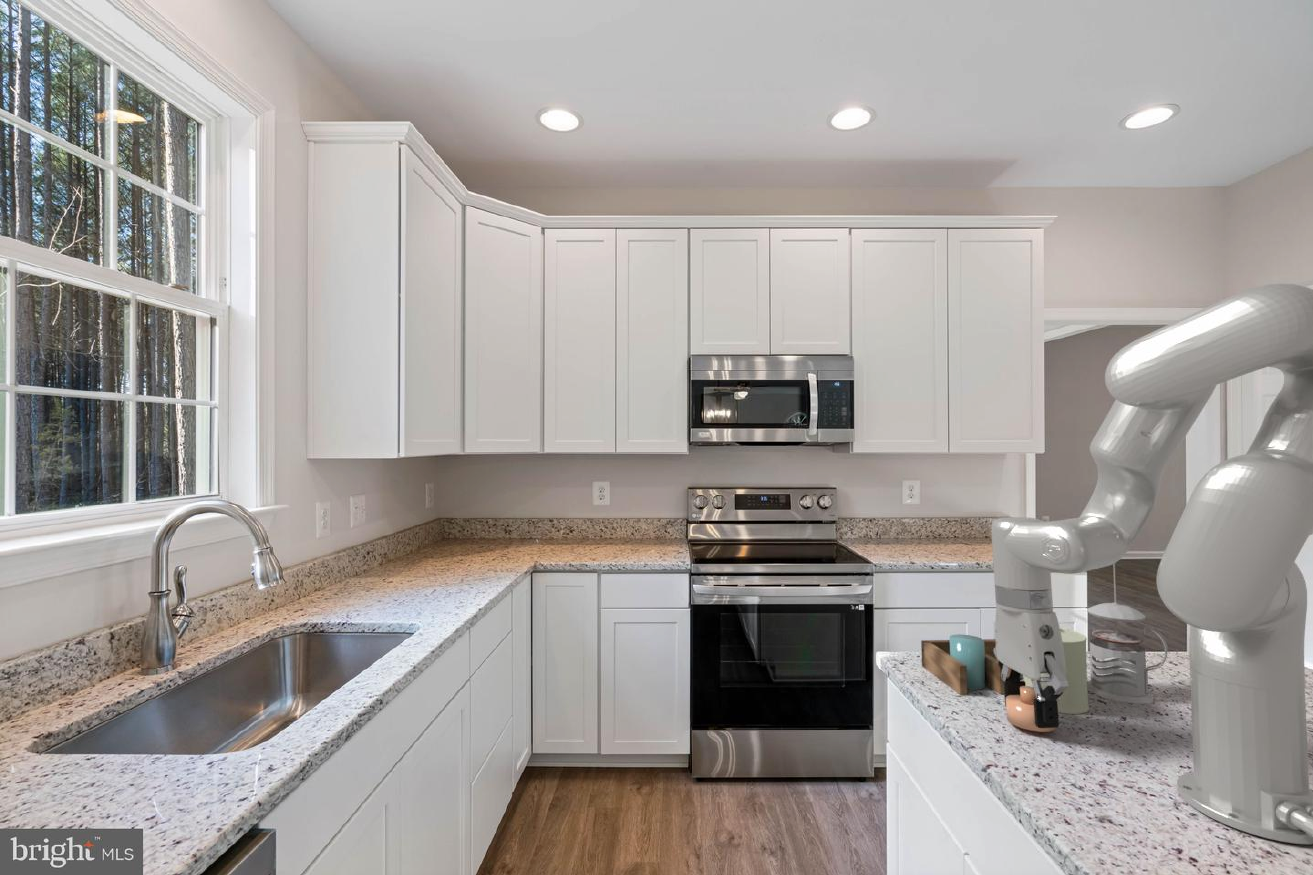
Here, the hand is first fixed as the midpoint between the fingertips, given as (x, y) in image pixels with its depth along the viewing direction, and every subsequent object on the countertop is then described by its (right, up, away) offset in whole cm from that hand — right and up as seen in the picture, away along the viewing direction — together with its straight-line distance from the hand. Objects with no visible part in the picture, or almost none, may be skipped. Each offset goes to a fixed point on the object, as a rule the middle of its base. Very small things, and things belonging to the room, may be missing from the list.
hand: (1030, 715), depth 89 cm
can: (+10, -2, +9) cm, 14 cm away
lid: (0, -1, 0) cm, 1 cm away
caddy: (+6, -2, +19) cm, 20 cm away
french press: (+24, -2, +12) cm, 27 cm away
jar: (0, -2, +17) cm, 17 cm away
